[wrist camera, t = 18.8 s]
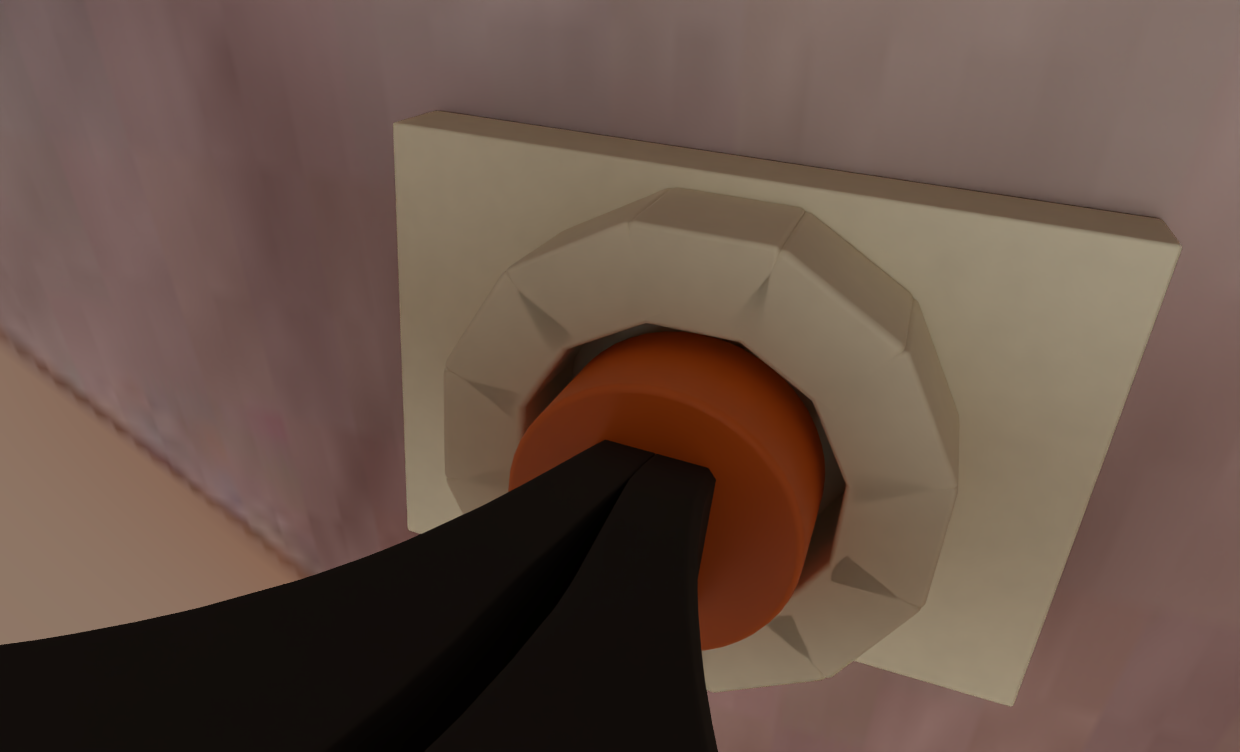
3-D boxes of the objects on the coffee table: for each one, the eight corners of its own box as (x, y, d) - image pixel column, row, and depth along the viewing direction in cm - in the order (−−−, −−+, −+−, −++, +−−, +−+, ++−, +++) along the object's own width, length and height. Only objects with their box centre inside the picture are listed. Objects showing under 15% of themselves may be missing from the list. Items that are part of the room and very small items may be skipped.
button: (555, 532, 13) (502, 606, 12) (567, 303, 12) (508, 355, 10) (800, 601, 12) (777, 691, 11) (851, 361, 11) (831, 428, 9)
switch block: (441, 496, 17) (345, 593, 14) (434, 110, 14) (310, 144, 11) (1009, 653, 14) (1018, 810, 11) (1164, 218, 11) (1225, 299, 8)
